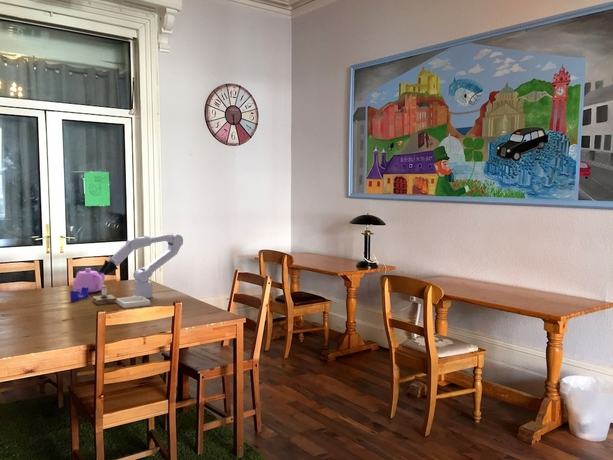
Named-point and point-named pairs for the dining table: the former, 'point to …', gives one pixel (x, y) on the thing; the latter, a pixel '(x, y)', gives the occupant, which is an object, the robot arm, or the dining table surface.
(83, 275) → the teapot
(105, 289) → the steel pin
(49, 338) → the dining table surface
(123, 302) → the tray
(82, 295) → the cable clip
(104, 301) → the square hole board
